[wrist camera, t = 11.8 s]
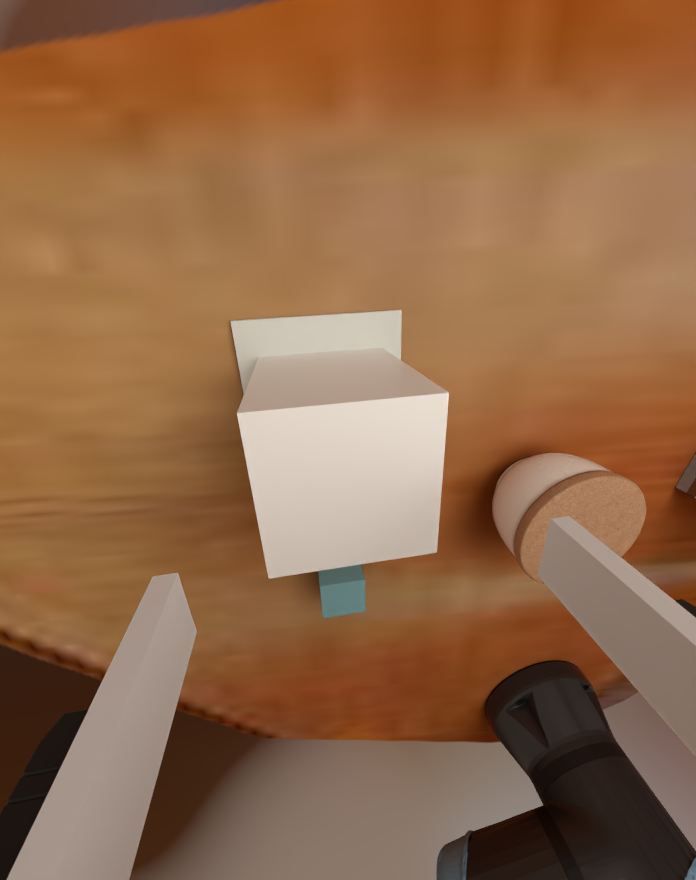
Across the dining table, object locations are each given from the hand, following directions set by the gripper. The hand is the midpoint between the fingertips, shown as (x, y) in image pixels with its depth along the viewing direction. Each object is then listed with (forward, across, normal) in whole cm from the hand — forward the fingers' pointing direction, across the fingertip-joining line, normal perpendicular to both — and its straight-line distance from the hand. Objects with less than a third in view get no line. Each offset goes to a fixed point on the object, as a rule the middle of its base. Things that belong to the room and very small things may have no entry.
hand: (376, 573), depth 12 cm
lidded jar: (+18, -19, +9) cm, 28 cm away
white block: (+17, 0, -1) cm, 17 cm away
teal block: (+18, 0, +16) cm, 24 cm away
